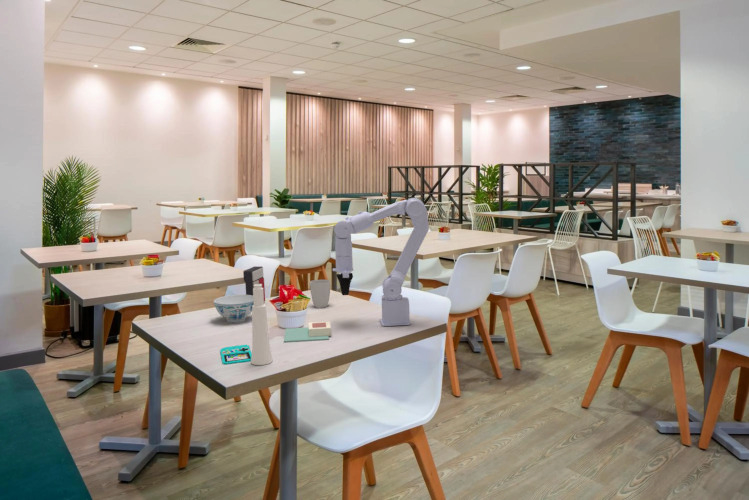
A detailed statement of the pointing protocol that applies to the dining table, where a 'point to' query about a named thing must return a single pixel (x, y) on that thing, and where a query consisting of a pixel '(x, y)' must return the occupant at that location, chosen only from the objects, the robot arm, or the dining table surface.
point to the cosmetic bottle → (260, 329)
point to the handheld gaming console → (235, 354)
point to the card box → (319, 329)
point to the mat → (301, 335)
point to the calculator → (253, 279)
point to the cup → (320, 292)
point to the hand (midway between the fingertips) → (345, 294)
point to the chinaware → (234, 307)
